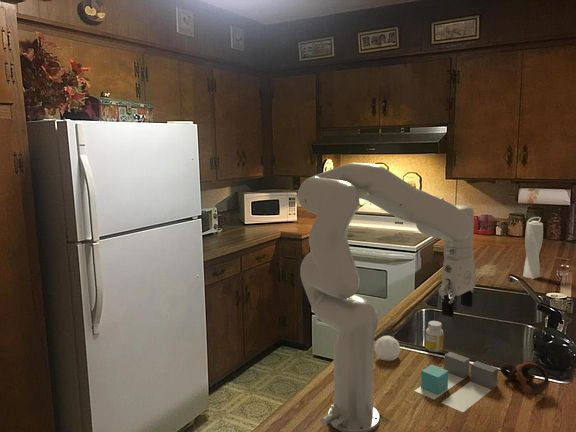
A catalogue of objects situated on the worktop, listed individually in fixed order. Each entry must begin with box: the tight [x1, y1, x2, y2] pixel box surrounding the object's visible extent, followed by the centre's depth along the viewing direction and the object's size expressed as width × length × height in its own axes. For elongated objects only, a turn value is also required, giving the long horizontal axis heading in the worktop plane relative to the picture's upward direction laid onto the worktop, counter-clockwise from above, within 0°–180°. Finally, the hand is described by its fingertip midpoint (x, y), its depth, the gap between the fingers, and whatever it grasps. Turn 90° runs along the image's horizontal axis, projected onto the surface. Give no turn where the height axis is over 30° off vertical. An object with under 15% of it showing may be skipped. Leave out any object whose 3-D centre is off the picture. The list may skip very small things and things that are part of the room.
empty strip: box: [441, 360, 499, 413], centre depth 126 cm, size 18×6×6 cm, turn 132°
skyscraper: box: [522, 216, 544, 280], centre depth 223 cm, size 8×8×28 cm
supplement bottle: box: [424, 320, 444, 353], centre depth 152 cm, size 5×5×10 cm
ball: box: [373, 335, 401, 362], centre depth 147 cm, size 8×8×8 cm
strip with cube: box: [413, 351, 471, 400], centre depth 131 cm, size 18×6×6 cm, turn 132°
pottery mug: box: [499, 361, 550, 395], centre depth 130 cm, size 12×10×8 cm
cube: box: [420, 364, 448, 395], centre depth 129 cm, size 5×5×5 cm
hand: (457, 310), depth 134 cm, fingers open, 9 cm apart
